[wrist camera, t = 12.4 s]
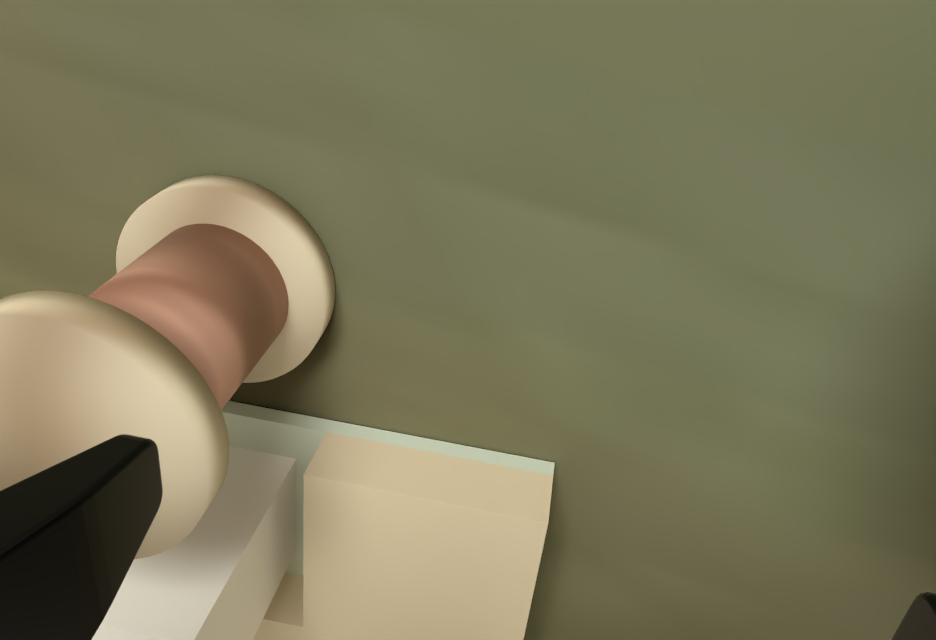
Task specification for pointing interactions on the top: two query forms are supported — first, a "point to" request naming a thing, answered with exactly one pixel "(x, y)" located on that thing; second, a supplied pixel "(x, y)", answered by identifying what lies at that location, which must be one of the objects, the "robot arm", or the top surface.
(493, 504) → the notched board
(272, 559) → the block
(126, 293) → the bobbin
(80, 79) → the top surface
